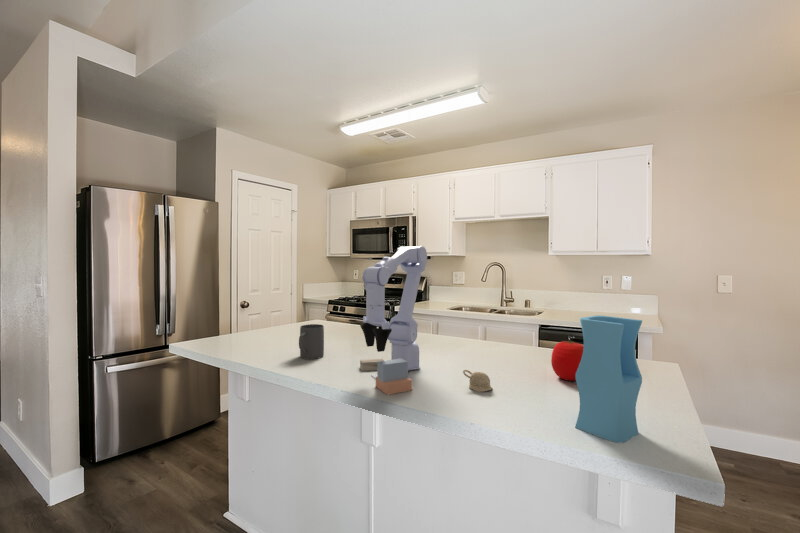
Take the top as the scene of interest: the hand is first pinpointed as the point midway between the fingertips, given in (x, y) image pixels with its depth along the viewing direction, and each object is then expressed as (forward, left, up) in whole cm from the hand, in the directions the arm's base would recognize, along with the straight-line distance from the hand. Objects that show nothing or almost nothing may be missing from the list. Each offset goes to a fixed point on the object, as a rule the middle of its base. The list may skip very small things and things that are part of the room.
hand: (375, 348), depth 118 cm
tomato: (-56, +27, -11) cm, 63 cm away
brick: (-5, -14, -11) cm, 18 cm away
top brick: (-2, +8, -7) cm, 11 cm away
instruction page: (-5, -3, -10) cm, 12 cm away
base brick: (-2, +8, -10) cm, 13 cm away
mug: (+11, -38, -11) cm, 41 cm away
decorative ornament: (-24, +20, -11) cm, 33 cm away
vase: (-32, +55, -11) cm, 65 cm away
